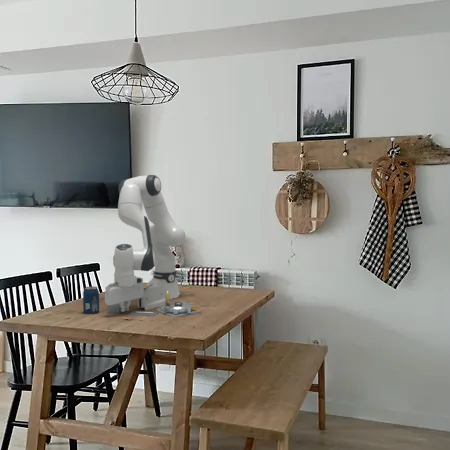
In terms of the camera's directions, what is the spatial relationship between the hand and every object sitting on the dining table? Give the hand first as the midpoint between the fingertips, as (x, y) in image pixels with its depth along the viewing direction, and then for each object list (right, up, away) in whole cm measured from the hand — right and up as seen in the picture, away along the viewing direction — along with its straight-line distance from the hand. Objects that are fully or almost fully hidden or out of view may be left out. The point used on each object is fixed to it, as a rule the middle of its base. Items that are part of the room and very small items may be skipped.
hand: (124, 311), depth 233 cm
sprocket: (+24, 0, +4) cm, 24 cm away
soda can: (-15, -2, +2) cm, 16 cm away
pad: (+8, -2, -3) cm, 9 cm away
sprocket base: (+24, -1, +4) cm, 24 cm away
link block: (-2, +1, +3) cm, 4 cm away
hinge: (+11, -1, +15) cm, 19 cm away
